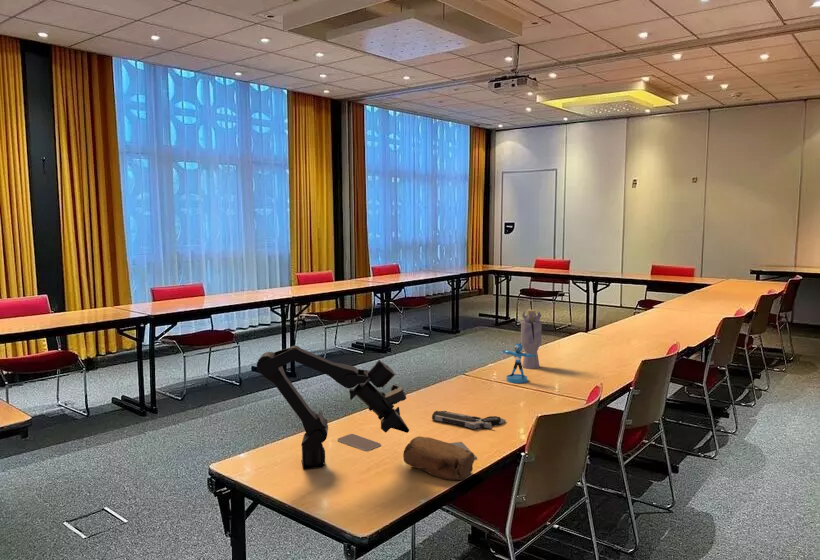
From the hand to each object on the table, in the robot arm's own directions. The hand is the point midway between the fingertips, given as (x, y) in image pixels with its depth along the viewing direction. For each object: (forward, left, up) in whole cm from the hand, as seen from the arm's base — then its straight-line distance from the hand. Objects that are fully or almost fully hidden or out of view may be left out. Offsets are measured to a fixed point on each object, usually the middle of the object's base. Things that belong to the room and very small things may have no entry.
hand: (408, 431), depth 184 cm
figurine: (+74, +76, -10) cm, 107 cm away
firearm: (+31, +30, -10) cm, 44 cm away
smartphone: (-12, +19, -10) cm, 25 cm away
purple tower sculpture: (+92, +99, -10) cm, 136 cm away
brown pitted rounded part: (0, -2, -5) cm, 5 cm away
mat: (+12, +2, -10) cm, 15 cm away
